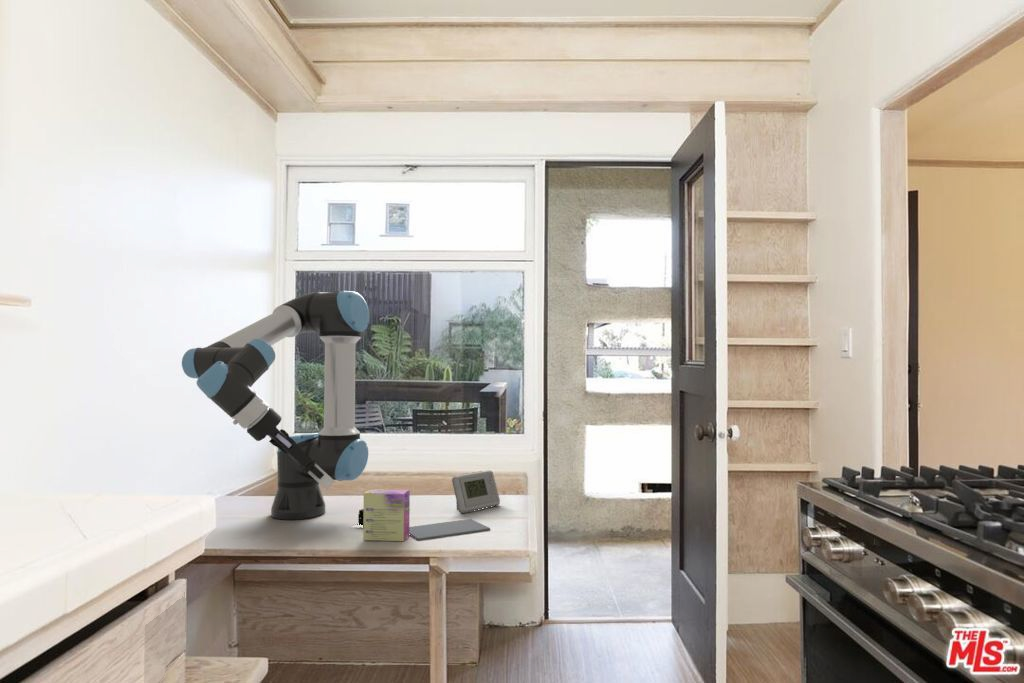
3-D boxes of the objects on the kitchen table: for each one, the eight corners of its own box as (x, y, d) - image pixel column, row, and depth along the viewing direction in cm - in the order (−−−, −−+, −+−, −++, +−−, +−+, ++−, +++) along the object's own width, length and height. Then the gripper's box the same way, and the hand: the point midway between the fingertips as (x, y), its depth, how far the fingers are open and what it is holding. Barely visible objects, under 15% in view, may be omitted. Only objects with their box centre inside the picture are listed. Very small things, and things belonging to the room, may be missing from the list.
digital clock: (459, 515, 191) (459, 478, 192) (444, 509, 199) (444, 473, 199) (506, 507, 200) (506, 472, 201) (490, 502, 208) (490, 468, 208)
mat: (401, 529, 175) (401, 527, 175) (470, 520, 184) (470, 518, 184) (417, 540, 164) (417, 538, 164) (490, 530, 174) (490, 528, 174)
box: (410, 535, 169) (409, 489, 169) (404, 541, 163) (404, 493, 163) (370, 535, 170) (370, 488, 170) (363, 541, 164) (362, 493, 164)
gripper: (241, 428, 157) (313, 493, 164) (248, 432, 145) (325, 502, 153) (265, 405, 160) (334, 469, 167) (274, 407, 148) (348, 477, 155)
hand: (330, 485), depth 160 cm, fingers closed
